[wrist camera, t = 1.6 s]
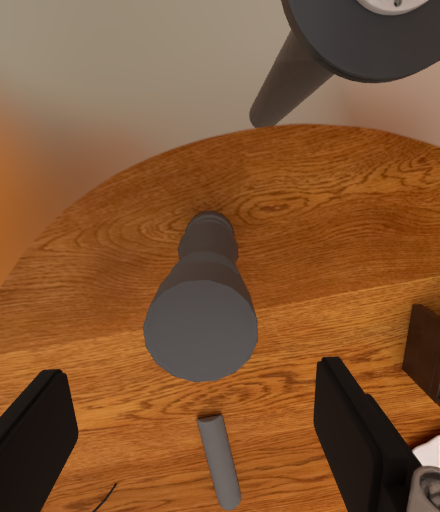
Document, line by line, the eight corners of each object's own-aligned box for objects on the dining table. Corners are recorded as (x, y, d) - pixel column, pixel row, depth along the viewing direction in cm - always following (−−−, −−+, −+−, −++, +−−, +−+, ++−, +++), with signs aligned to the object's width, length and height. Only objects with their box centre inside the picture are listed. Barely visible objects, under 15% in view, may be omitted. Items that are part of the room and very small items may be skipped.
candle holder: (184, 253, 39) (133, 380, 15) (189, 207, 37) (141, 266, 13) (229, 258, 39) (252, 392, 15) (236, 213, 37) (274, 282, 13)
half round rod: (218, 500, 51) (218, 512, 50) (195, 414, 46) (194, 424, 44) (241, 497, 51) (242, 508, 49) (221, 410, 46) (221, 419, 44)
